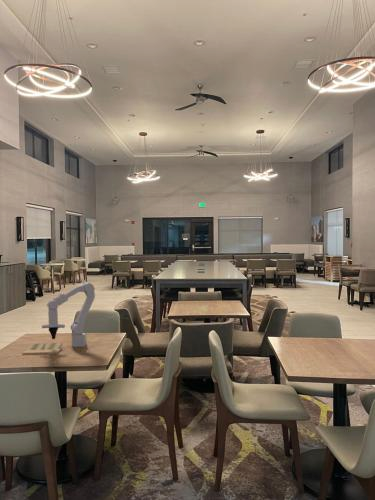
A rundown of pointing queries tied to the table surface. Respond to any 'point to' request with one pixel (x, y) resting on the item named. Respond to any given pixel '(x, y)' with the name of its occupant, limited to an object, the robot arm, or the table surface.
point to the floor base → (41, 352)
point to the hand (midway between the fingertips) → (53, 338)
